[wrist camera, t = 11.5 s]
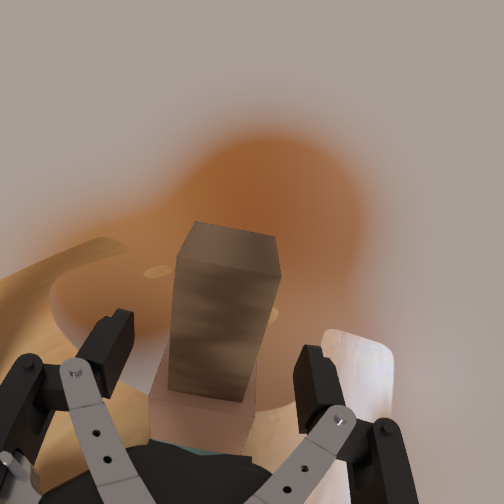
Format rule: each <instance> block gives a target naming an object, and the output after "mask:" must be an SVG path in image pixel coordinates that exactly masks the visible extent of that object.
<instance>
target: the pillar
mask: <svg viewBox="0 0 504 504" xmlns="http://www.w3.org/2000/svg"><path fill="white" fill-rule="evenodd" d="M280 279H281V271H280V264H279V258H278V252H277V246H276V241H275V237H274V236H269V235H264V234H259V233H254V232H249V231H244V230H238V229H233V228H229V227H224V226H218V225H213V224H208V223H203V222H197V221H195V223H194V225H193V226H192V228H191V230H190V232H189V234H188V236H187V238H186V240H185V242H184V243H183V246H182V247H181V249H180V251H179V253H178V256H177V259H176V269H175V279H174V290H173V301H172V314H171V328H170V345H169V365H168V390H171V391H176V392H181V393H185V394H191V395H196V396H201V397H207V398H212V399H219V400H225V401H232V402H239V403H242V401H243V398H244V395H245V392H246V389H247V386H248V383H249V380H250V377H251V374H252V371H253V368H254V364H255V361H256V358H257V355H258V352H259V349H260V346H261V342H262V339H263V336H264V333H265V329H266V326H267V323H268V320H269V316H270V313H271V310H272V307H273V303H274V300H275V297H276V292H277V290H278V286H279V283H280Z"/></svg>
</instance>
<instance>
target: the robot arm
mask: <svg viewBox="0 0 504 504" xmlns="http://www.w3.org/2000/svg"><path fill="white" fill-rule="evenodd" d="M134 337H135V335H134V313H133V312H132V311H128V310H124V309H119V308H118V309H117V310H116V311H115V313H114V315H113V316H112V317H108V316H105V317H104V318H102V319H101V320H99V321H98V322H97V323H96V325H95V326H94V328H93V330H92V331H91V333H90V334H89V336H88V337H87V339H86V340H85V342H84V344H83V345H82V347H81V348H80V350H79V352H78V353H77V355H76V356H75V358H69V359H67V360H65V361H64V362H63V363H62V364H61V365H52V364H43V362H42V360H41V358H40V357H39V356H37V355H35V354H32V353H27V354H23V355H21V356H20V357H18V358H17V360H16V361H15V363H14V364H13V366H12V367H11V369H10V370H9V372H8V374H7V375H6V377H5V379H4V380H3V382H2V383H1V385H0V504H303V503H304V502H305V500H306V499H307V498H308V497H309V495H310V494H311V493H312V491H313V490H314V489H315V487H316V486H317V485H318V483H319V482H320V480H321V479H322V478H323V476H324V475H325V474H326V472H327V471H328V469H329V468H330V466H331V465H332V463H333V462H334V460H335V459H338V460H342V461H346V463H347V471H348V479H349V488H350V497H351V504H419V502H418V498H417V493H416V489H415V484H414V480H413V476H412V472H411V468H410V464H409V460H408V456H407V453H406V449H405V446H404V442H403V438H402V434H401V431H400V428H399V426H398V425H397V424H396V423H395V422H394V421H393V420H391V419H389V418H379V419H377V420H376V421H375V422H374V423H370V422H367V421H363V420H360V419H357V418H356V416H355V414H354V412H353V411H352V410H351V409H349V408H348V407H346V405H345V401H344V397H343V393H342V389H341V386H340V383H339V378H338V376H337V371H336V367H335V365H334V364H333V362H332V361H331V360H330V358H326V357H323V353H322V349H321V347H320V346H314V345H304V346H303V348H302V351H301V353H300V356H299V358H298V360H297V363H296V365H295V367H294V372H293V383H294V391H295V400H296V409H297V417H298V426H299V434H307V437H305V438H304V440H303V441H302V442H301V443H300V444H299V446H298V447H297V448H296V449H295V450H294V451H293V453H292V454H291V455H290V456H289V457H288V458H287V459H286V461H285V462H284V463H283V464H282V465H281V466H280V467H279V468H278V470H277V471H276V472H275V473H274V474H272V473H271V472H269V471H268V470H266V469H264V468H263V467H261V466H258V465H256V464H253V463H252V457H251V456H241V455H232V454H218V455H197V454H195V453H192V452H190V451H187V450H185V449H183V448H180V447H178V446H176V445H173V444H168V443H164V442H160V441H155V440H151V439H149V442H148V445H138V446H132V447H129V448H126V449H125V448H124V446H123V444H122V441H121V439H120V437H119V435H118V433H117V431H116V428H115V426H114V424H113V421H112V419H111V417H110V414H109V412H108V410H107V407H106V405H105V403H104V402H103V400H102V397H104V398H107V399H110V398H111V396H112V393H113V391H114V388H115V386H116V384H117V381H118V379H119V377H120V374H121V372H122V370H123V368H124V366H125V363H126V361H127V359H128V357H129V354H130V352H131V350H132V348H133V344H134ZM55 411H68V412H69V413H70V416H71V420H72V423H73V426H74V429H75V432H76V435H77V438H78V441H79V444H80V446H81V449H82V452H83V455H84V457H85V460H86V462H87V465H88V467H89V469H88V470H87V471H85V472H83V473H81V474H80V475H78V476H76V477H74V478H72V479H70V480H68V481H67V482H65V483H63V484H61V485H59V486H57V487H55V488H53V489H51V490H49V491H48V492H46V493H45V494H44V495H43V496H42V495H41V492H40V476H39V473H38V471H37V470H36V469H35V468H34V464H35V461H36V458H37V456H38V453H39V450H40V448H41V445H42V442H43V440H44V437H45V435H46V432H47V430H48V427H49V425H50V423H51V420H52V418H53V416H54V413H55Z"/></svg>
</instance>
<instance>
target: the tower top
mask: <svg viewBox="0 0 504 504" xmlns="http://www.w3.org/2000/svg"><path fill="white" fill-rule="evenodd" d="M169 345H170V338H169V341H168V343H167V346H166V349H165V352H164V354H163V357H162V360H161V362H160V365H159V368H158V371H157V374H156V376H155V379H154V382H153V385H152V388H151V390H150V393H149V396H148V400H149V415H150V428H151V438H153V439H157V440H160V441H164V442H169V443H173V444H177V445H182V446H186V447H191V448H196V449H202V450H207V451H213V452H219V453H225V454H232V455H239V454H240V452H241V449H242V447H243V445H244V442H245V440H246V438H247V436H248V433H249V431H250V429H251V426H252V424H253V421H254V419H255V403H256V368H257V358H256V361H255V364H254V368H253V371H252V374H251V377H250V380H249V383H248V386H247V389H246V392H245V395H244V398H243V401H242V403H239V402H232V401H225V400H219V399H212V398H207V397H201V396H196V395H191V394H185V393H181V392H176V391H171V390H168V365H169Z"/></svg>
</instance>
